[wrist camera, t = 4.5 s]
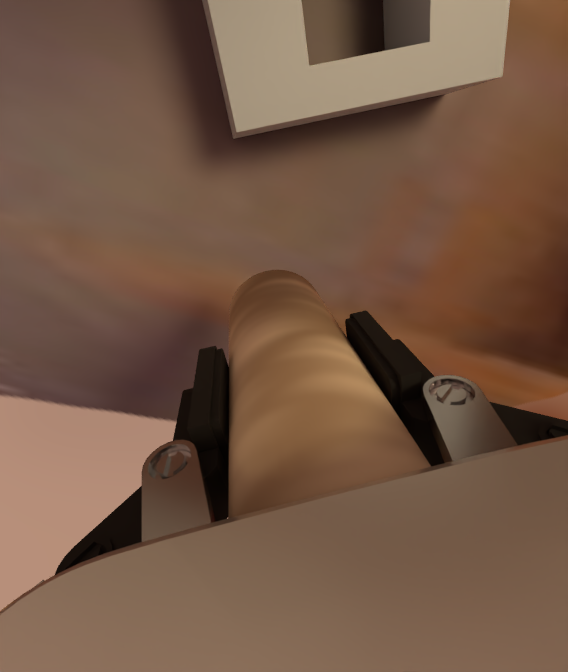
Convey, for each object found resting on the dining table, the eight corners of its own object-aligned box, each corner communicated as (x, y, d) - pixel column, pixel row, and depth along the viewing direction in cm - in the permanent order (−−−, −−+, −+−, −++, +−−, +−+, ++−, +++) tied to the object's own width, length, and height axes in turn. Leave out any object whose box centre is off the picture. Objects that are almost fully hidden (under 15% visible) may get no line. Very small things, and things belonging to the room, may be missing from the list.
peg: (314, 260, 15) (511, 495, 5) (326, 343, 17) (479, 635, 7) (217, 282, 15) (189, 578, 4) (242, 363, 17) (262, 695, 6)
